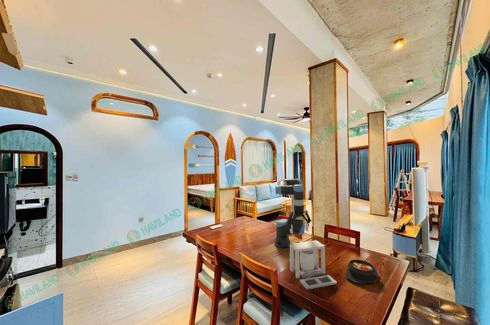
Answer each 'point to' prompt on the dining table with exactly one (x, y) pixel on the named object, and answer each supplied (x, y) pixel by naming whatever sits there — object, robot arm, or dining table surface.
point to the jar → (307, 260)
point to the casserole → (361, 272)
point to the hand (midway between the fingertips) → (299, 231)
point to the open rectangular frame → (319, 280)
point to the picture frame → (309, 273)
